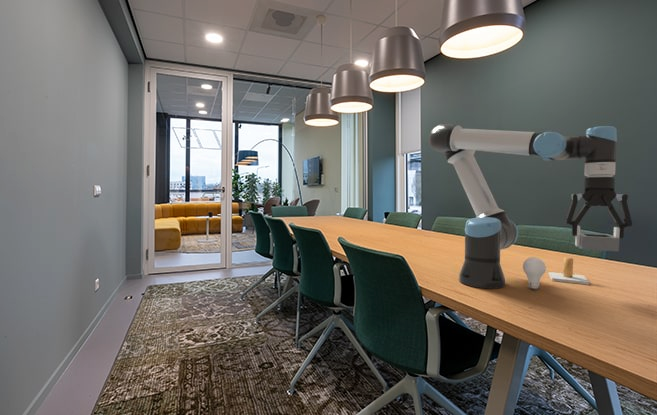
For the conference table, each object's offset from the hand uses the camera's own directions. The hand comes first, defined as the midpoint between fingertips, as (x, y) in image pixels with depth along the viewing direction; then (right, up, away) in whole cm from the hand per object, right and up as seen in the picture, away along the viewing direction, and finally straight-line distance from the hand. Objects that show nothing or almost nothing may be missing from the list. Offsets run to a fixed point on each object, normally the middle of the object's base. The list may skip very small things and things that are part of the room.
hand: (596, 247), depth 104 cm
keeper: (+4, -14, +18) cm, 23 cm away
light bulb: (-16, -15, +6) cm, 23 cm away
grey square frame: (0, 0, 0) cm, 0 cm away
